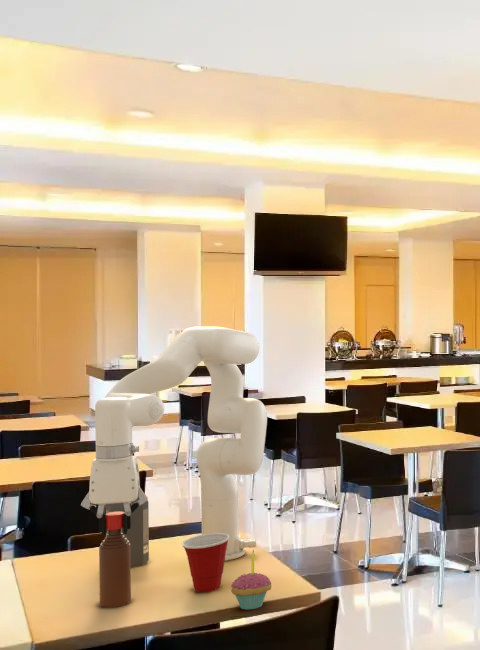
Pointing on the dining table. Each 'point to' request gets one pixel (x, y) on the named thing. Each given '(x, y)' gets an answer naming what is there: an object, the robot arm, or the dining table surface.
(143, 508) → the liquor
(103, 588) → the sauce bottle
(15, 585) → the dining table surface
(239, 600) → the cupcake
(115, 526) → the cap
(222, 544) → the plastic cup
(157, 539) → the dining table surface
